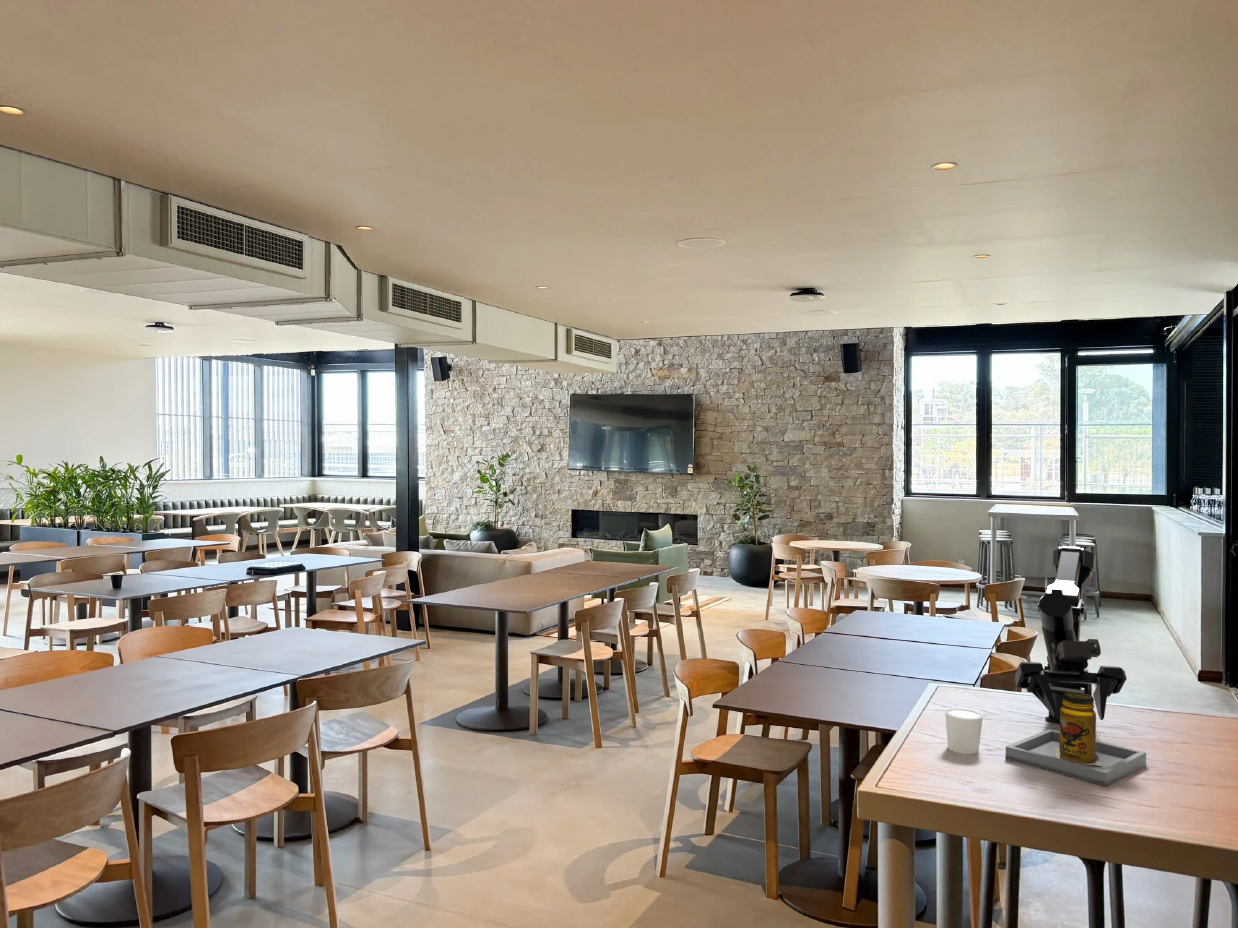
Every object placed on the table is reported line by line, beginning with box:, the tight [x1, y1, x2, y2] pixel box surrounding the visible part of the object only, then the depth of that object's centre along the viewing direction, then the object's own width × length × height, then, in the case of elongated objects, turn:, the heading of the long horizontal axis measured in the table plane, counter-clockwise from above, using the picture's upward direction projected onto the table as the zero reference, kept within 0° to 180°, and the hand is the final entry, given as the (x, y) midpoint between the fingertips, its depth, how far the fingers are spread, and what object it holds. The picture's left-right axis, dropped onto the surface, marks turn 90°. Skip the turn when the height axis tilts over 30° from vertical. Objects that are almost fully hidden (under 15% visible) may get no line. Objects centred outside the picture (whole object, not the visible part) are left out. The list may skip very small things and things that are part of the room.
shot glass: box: [944, 708, 984, 755], centre depth 177 cm, size 7×7×7 cm
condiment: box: [1054, 692, 1102, 766], centre depth 170 cm, size 7×8×12 cm
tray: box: [1004, 728, 1147, 787], centre depth 170 cm, size 18×18×2 cm
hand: (1078, 717), depth 169 cm, fingers open, 8 cm apart
